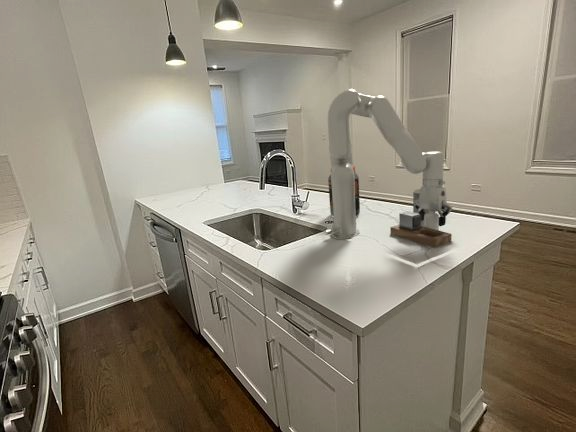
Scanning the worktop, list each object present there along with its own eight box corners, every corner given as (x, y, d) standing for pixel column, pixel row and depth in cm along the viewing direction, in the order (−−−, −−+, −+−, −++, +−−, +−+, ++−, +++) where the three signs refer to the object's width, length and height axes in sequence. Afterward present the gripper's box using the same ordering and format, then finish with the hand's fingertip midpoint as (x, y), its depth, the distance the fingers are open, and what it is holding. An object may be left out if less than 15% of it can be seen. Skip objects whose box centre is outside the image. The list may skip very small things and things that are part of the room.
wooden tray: (434, 250, 115) (434, 240, 114) (390, 236, 133) (390, 227, 132) (451, 243, 119) (451, 233, 118) (406, 231, 137) (406, 222, 136)
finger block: (413, 238, 125) (414, 216, 123) (399, 234, 132) (399, 213, 129) (421, 235, 127) (422, 214, 125) (407, 231, 134) (407, 211, 131)
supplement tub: (338, 210, 181) (336, 164, 174) (364, 212, 172) (363, 164, 165) (325, 217, 169) (321, 169, 162) (352, 220, 159) (350, 169, 153)
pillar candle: (430, 215, 156) (430, 185, 152) (438, 220, 146) (439, 188, 142) (410, 217, 156) (409, 187, 152) (417, 222, 147) (417, 191, 143)
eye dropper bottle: (424, 229, 137) (424, 202, 133) (438, 230, 134) (439, 203, 131) (423, 233, 133) (424, 205, 130) (438, 233, 130) (439, 205, 127)
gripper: (458, 183, 122) (456, 225, 127) (420, 179, 137) (420, 217, 141) (445, 186, 119) (444, 229, 123) (408, 182, 134) (408, 220, 138)
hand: (431, 223), depth 132 cm, fingers open, 9 cm apart
